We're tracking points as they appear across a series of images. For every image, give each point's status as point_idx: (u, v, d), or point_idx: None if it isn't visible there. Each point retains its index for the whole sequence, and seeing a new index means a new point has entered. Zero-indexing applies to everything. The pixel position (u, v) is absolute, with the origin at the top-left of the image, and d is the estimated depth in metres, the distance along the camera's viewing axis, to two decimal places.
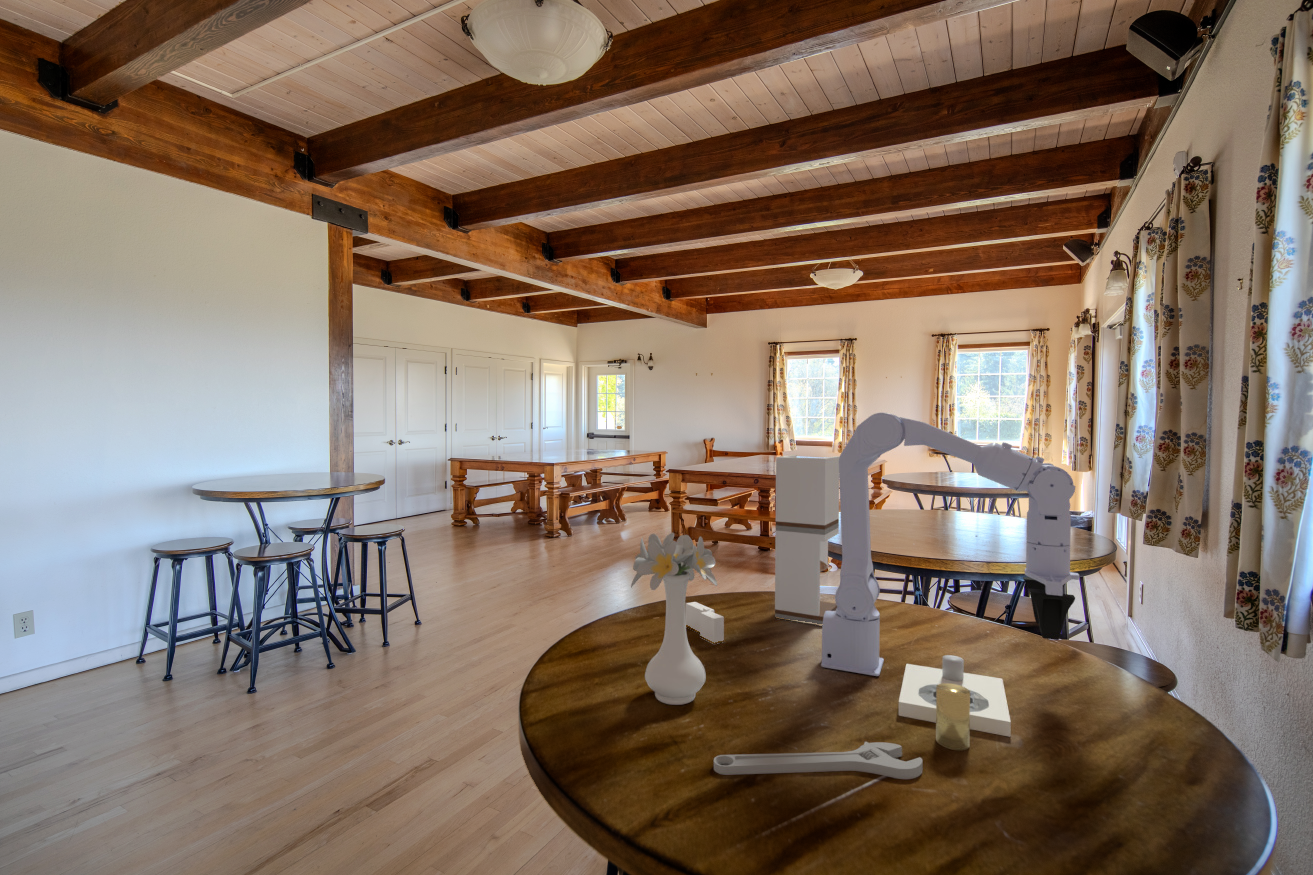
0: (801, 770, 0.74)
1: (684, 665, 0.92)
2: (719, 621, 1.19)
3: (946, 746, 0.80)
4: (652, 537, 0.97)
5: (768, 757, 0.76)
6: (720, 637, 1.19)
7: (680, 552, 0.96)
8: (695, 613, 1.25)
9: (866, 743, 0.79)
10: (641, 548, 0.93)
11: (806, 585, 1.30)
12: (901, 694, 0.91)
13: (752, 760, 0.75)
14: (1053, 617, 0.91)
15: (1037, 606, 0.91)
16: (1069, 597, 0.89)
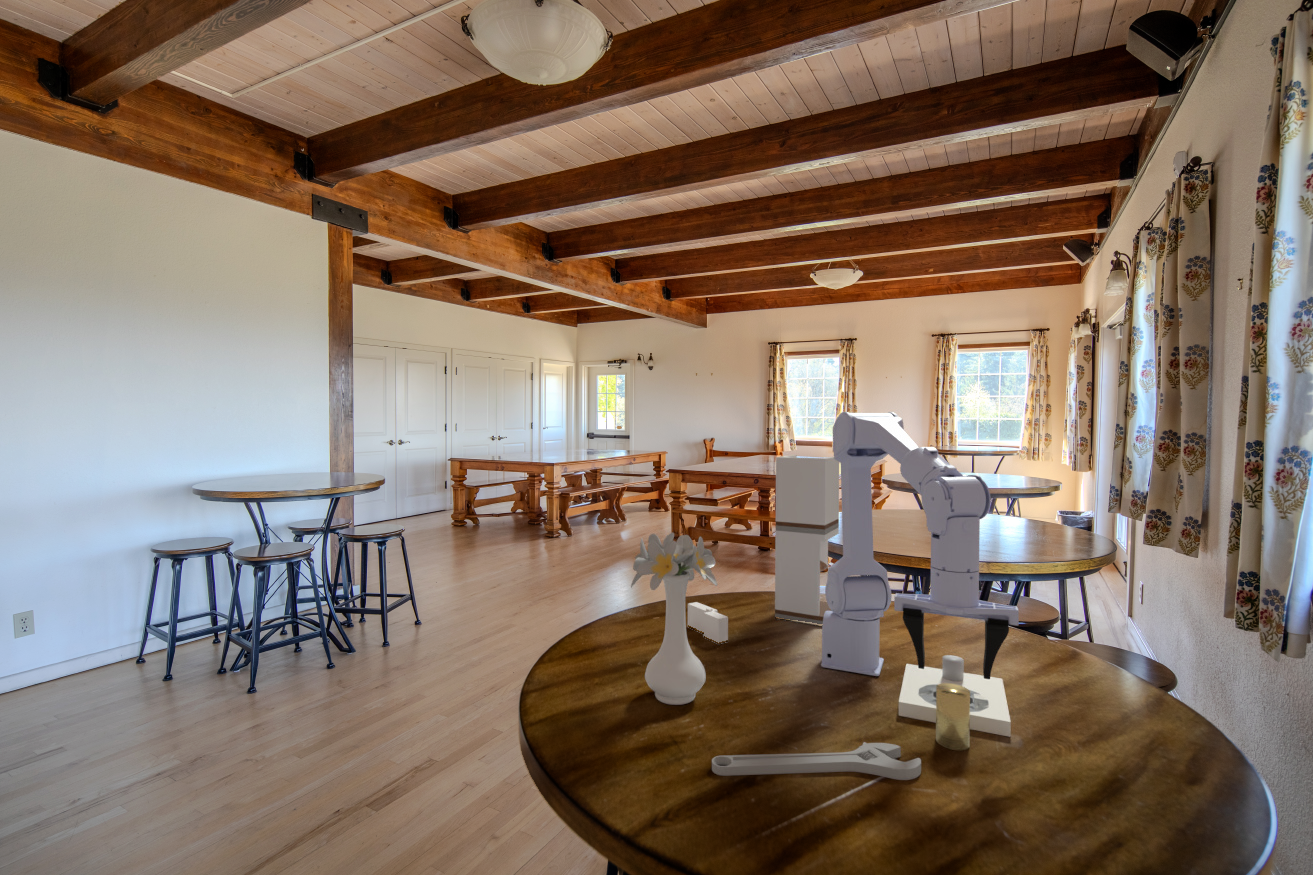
0: (799, 771, 0.74)
1: (684, 665, 0.92)
2: (723, 621, 1.19)
3: (946, 746, 0.80)
4: (652, 537, 0.97)
5: (766, 757, 0.76)
6: (724, 637, 1.19)
7: (680, 552, 0.96)
8: (698, 613, 1.25)
9: (865, 743, 0.79)
10: (641, 548, 0.93)
11: (806, 585, 1.30)
12: (901, 694, 0.91)
13: (750, 760, 0.75)
14: None
15: None
16: (906, 617, 0.82)
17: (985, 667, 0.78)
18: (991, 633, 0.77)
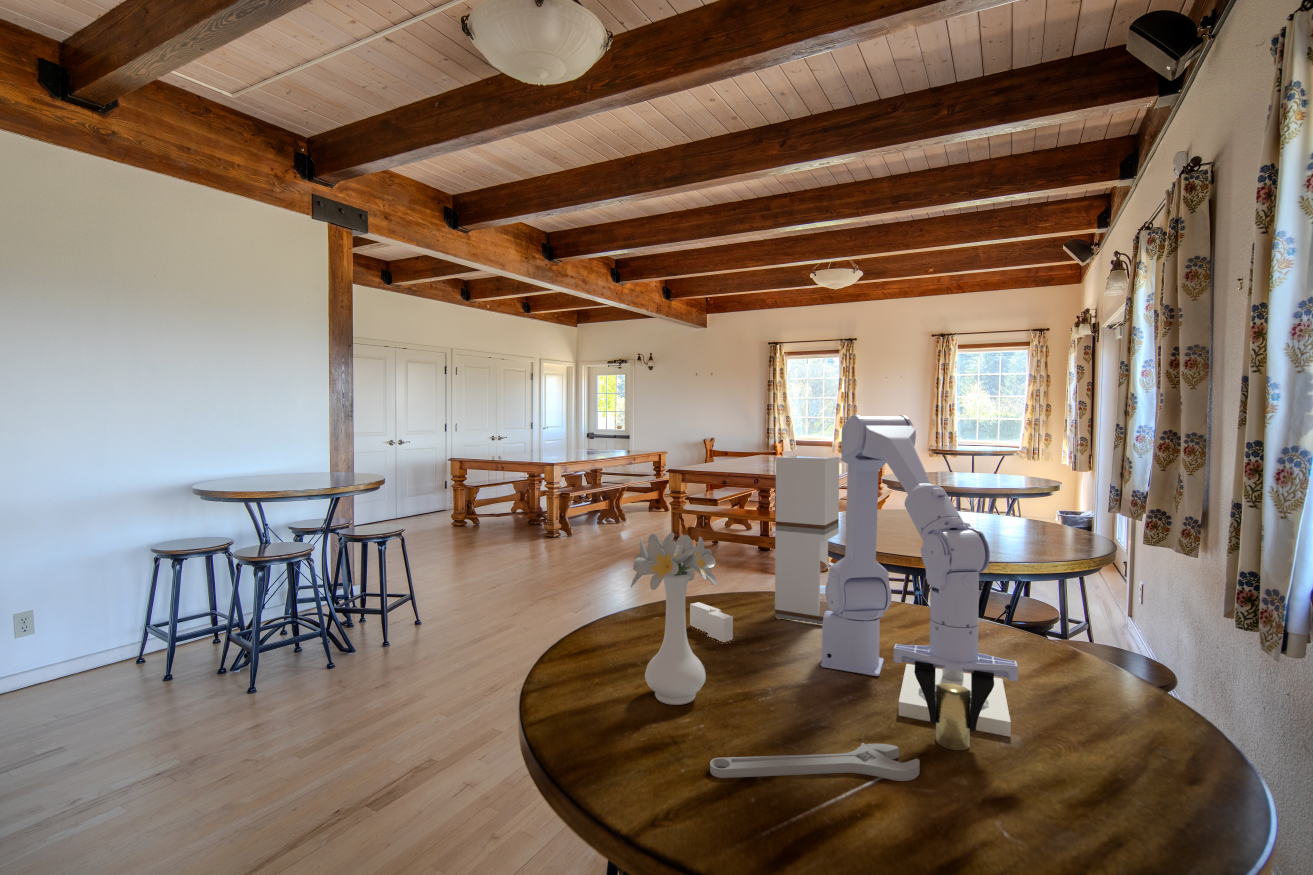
0: (798, 772, 0.74)
1: (684, 665, 0.92)
2: (728, 621, 1.19)
3: (946, 746, 0.80)
4: (652, 537, 0.97)
5: (765, 759, 0.75)
6: (729, 637, 1.19)
7: (680, 552, 0.96)
8: (701, 613, 1.25)
9: (863, 744, 0.78)
10: (641, 548, 0.93)
11: (806, 585, 1.30)
12: (901, 694, 0.91)
13: (748, 762, 0.75)
14: None
15: None
16: (917, 672, 0.81)
17: (971, 719, 0.79)
18: (976, 687, 0.78)
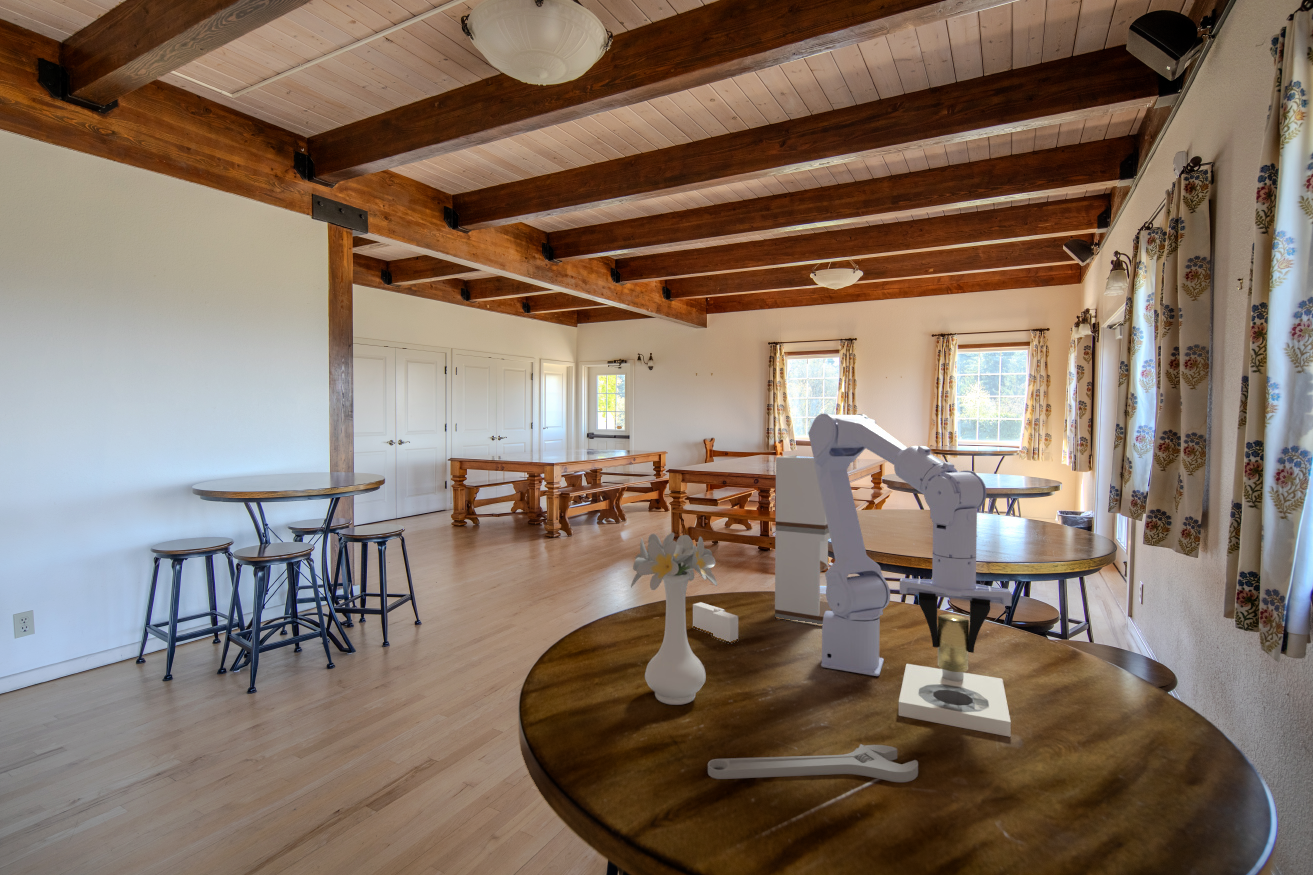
0: (796, 774, 0.73)
1: (684, 665, 0.92)
2: (734, 620, 1.19)
3: (947, 669, 0.89)
4: (652, 537, 0.97)
5: (762, 760, 0.75)
6: (735, 636, 1.19)
7: (680, 552, 0.96)
8: (705, 614, 1.25)
9: (861, 746, 0.78)
10: (641, 548, 0.93)
11: (806, 585, 1.30)
12: (901, 694, 0.91)
13: (746, 763, 0.75)
14: None
15: None
16: (921, 600, 0.90)
17: (969, 642, 0.88)
18: (974, 611, 0.86)
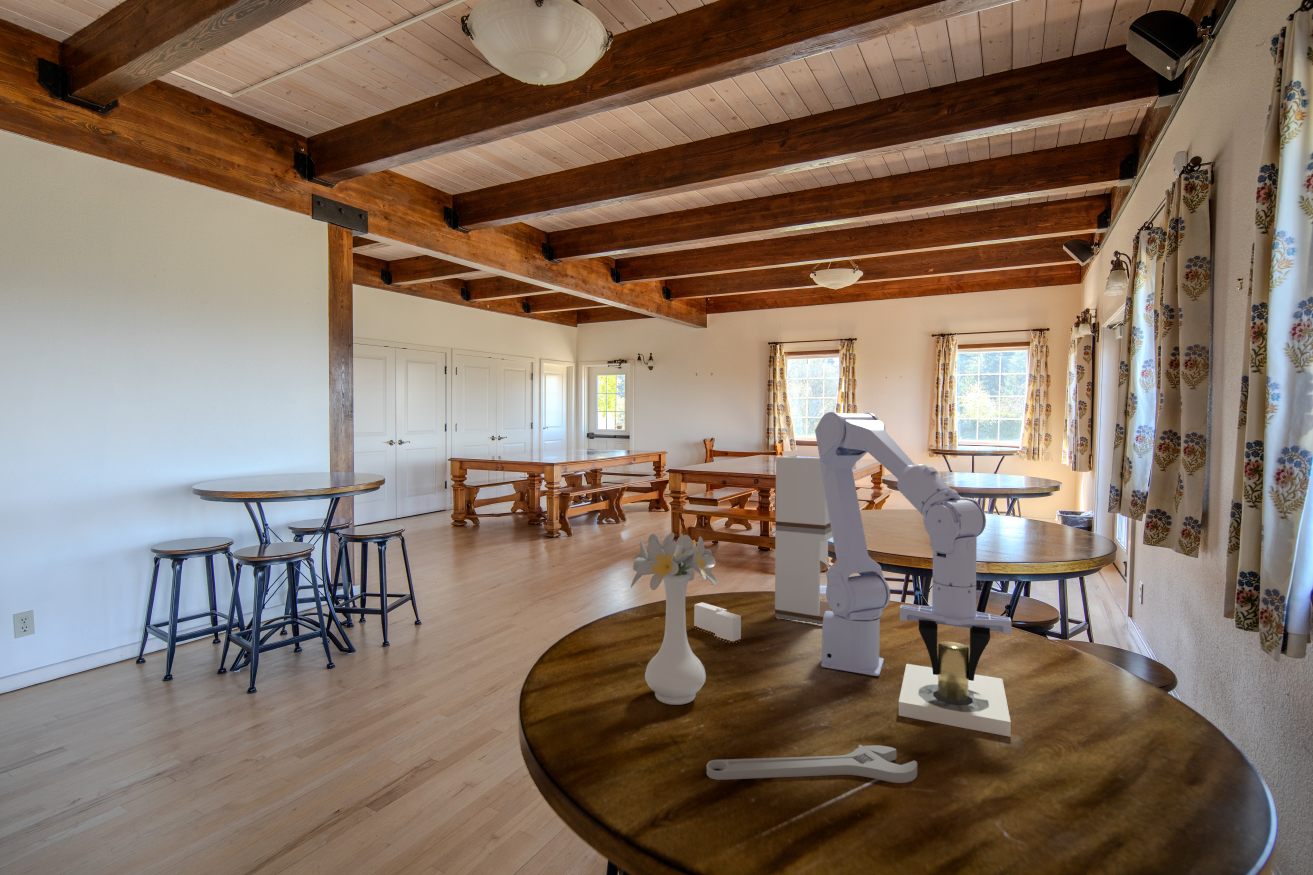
0: (795, 775, 0.73)
1: (684, 665, 0.92)
2: (737, 620, 1.19)
3: (947, 697, 0.89)
4: (652, 537, 0.97)
5: (761, 761, 0.75)
6: (738, 636, 1.20)
7: (680, 552, 0.96)
8: (707, 614, 1.25)
9: (860, 746, 0.78)
10: (641, 548, 0.93)
11: (806, 585, 1.30)
12: (901, 694, 0.91)
13: (745, 764, 0.74)
14: None
15: None
16: (921, 628, 0.90)
17: (969, 670, 0.88)
18: (974, 640, 0.87)
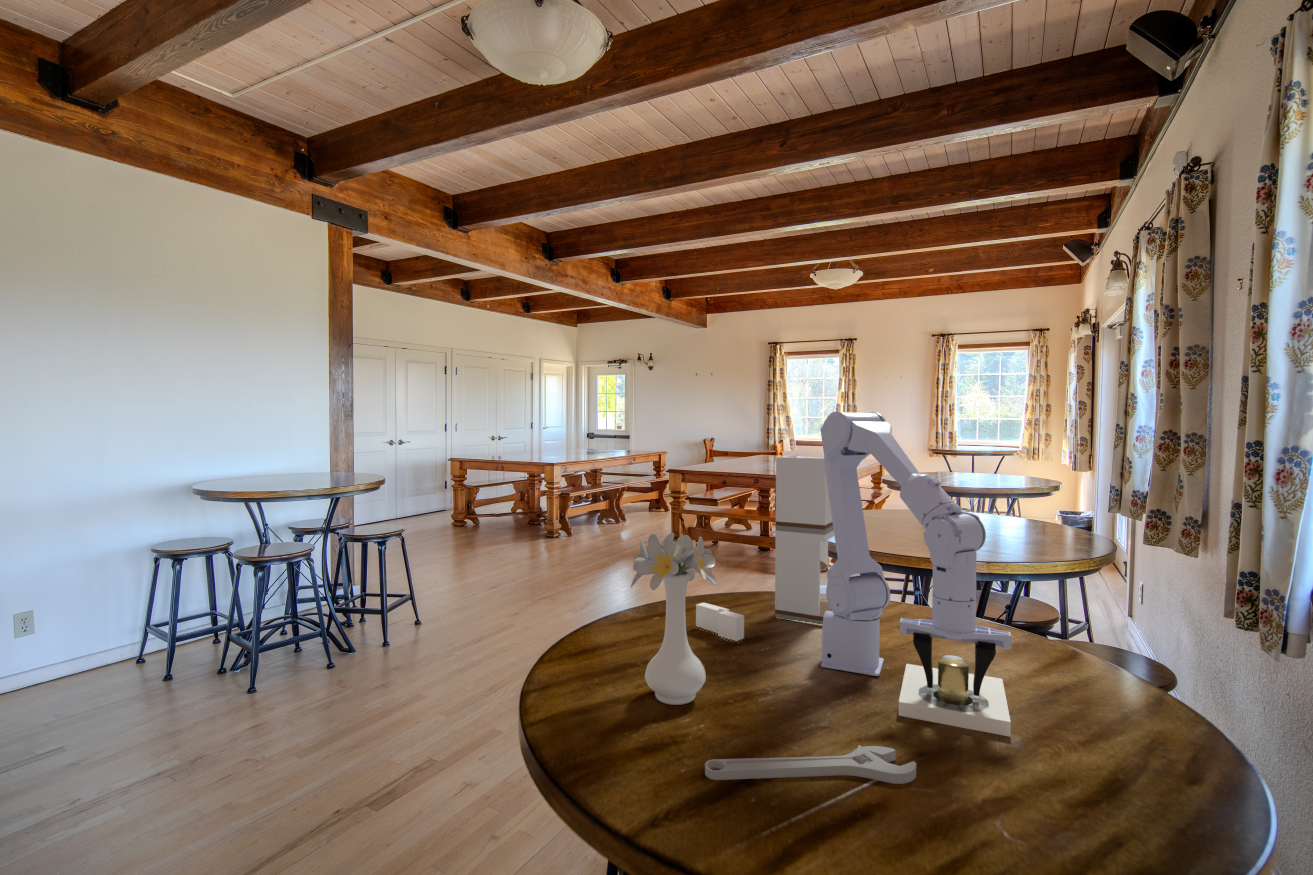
0: (793, 775, 0.73)
1: (684, 665, 0.92)
2: (740, 620, 1.20)
3: None
4: (652, 537, 0.97)
5: (760, 761, 0.75)
6: (741, 636, 1.20)
7: (680, 552, 0.96)
8: (709, 614, 1.25)
9: (859, 747, 0.78)
10: (641, 548, 0.93)
11: (806, 585, 1.30)
12: (901, 694, 0.91)
13: (744, 764, 0.74)
14: None
15: None
16: (916, 641, 0.91)
17: (975, 685, 0.88)
18: (980, 655, 0.86)
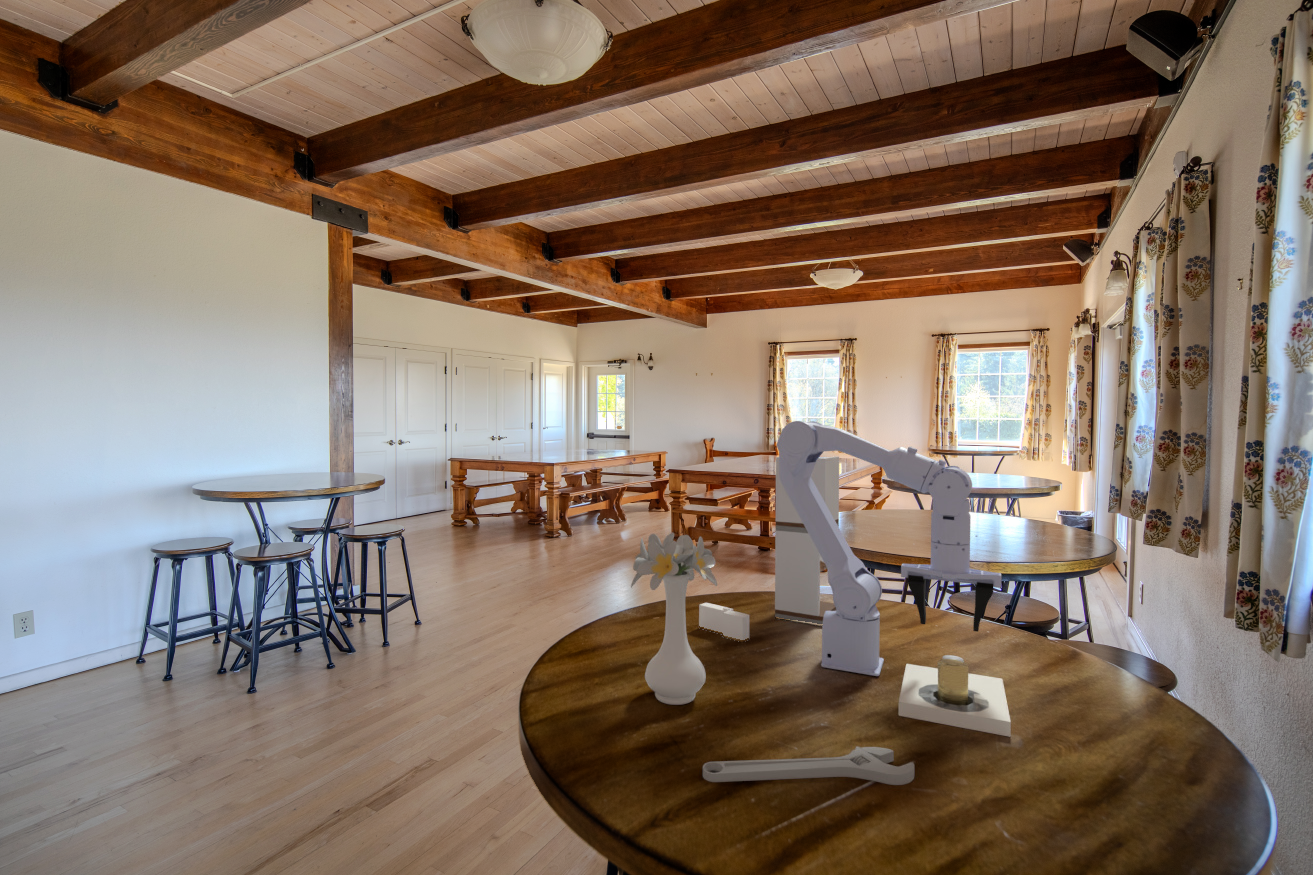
0: (792, 776, 0.73)
1: (684, 665, 0.92)
2: (746, 619, 1.20)
3: None
4: (652, 537, 0.97)
5: (758, 763, 0.75)
6: (747, 635, 1.20)
7: (680, 552, 0.96)
8: (713, 614, 1.25)
9: (857, 748, 0.78)
10: (641, 548, 0.93)
11: (806, 585, 1.30)
12: (901, 694, 0.91)
13: (741, 766, 0.74)
14: None
15: None
16: (910, 582, 1.01)
17: (974, 622, 0.97)
18: (979, 593, 0.96)
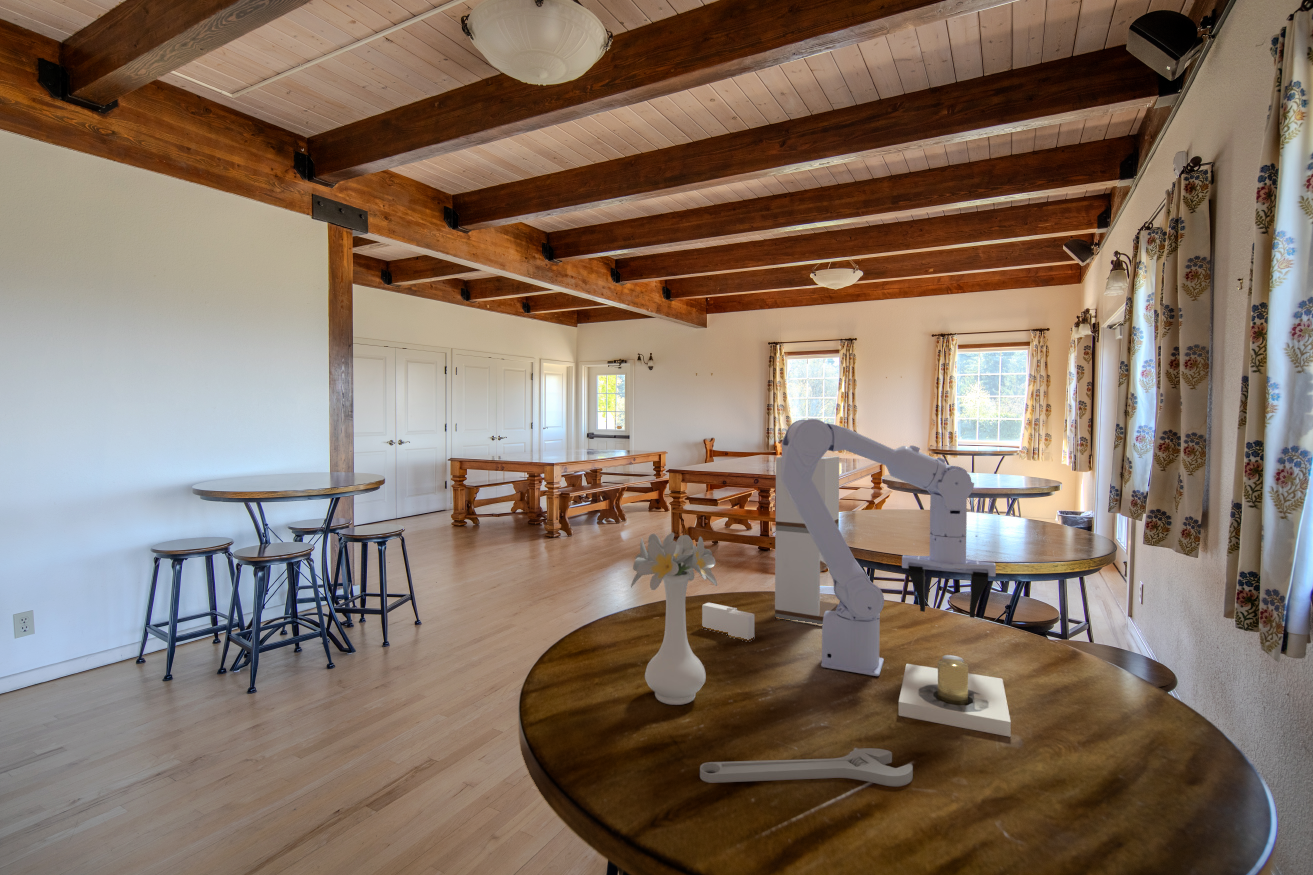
0: (789, 777, 0.73)
1: (684, 665, 0.92)
2: (751, 618, 1.21)
3: None
4: (652, 537, 0.97)
5: (755, 764, 0.74)
6: (752, 634, 1.21)
7: (680, 552, 0.96)
8: (717, 613, 1.25)
9: (855, 749, 0.77)
10: (641, 548, 0.93)
11: (806, 585, 1.30)
12: (901, 694, 0.91)
13: (739, 767, 0.74)
14: None
15: None
16: (911, 572, 1.07)
17: (971, 608, 1.04)
18: (975, 582, 1.03)
